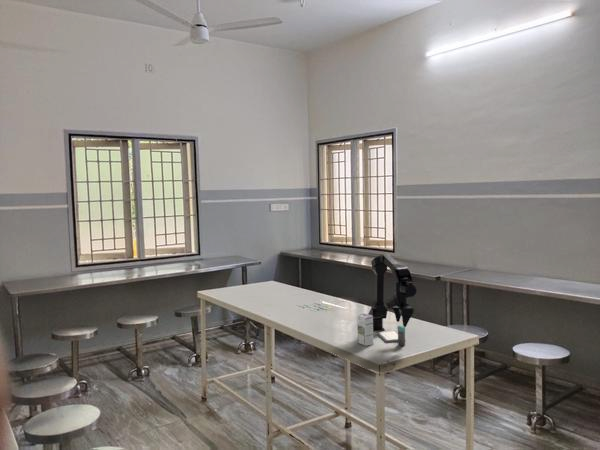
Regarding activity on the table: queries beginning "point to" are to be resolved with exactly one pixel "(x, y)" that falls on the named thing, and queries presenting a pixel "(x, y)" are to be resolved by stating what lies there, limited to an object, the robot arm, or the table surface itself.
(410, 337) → the table surface
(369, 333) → the syrup box
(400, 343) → the marker
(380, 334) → the writing board
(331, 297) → the table surface
